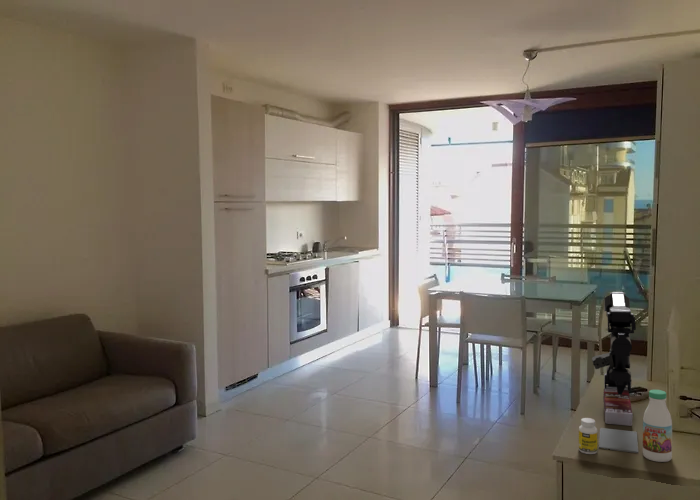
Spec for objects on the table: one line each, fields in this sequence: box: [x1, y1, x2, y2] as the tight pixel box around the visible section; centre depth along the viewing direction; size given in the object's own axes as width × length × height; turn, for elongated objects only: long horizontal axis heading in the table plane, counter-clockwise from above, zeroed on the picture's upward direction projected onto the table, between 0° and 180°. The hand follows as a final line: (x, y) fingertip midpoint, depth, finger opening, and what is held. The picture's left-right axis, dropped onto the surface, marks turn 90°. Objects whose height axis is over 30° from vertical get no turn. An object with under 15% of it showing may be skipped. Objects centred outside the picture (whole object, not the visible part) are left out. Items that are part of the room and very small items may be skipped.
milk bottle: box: [642, 389, 673, 463], centre depth 177 cm, size 8×8×20 cm
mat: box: [598, 427, 639, 454], centre depth 190 cm, size 16×11×1 cm
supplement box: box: [602, 388, 634, 427], centre depth 209 cm, size 9×5×16 cm
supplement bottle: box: [578, 417, 599, 455], centre depth 183 cm, size 5×5×10 cm
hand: (619, 394), depth 197 cm, fingers closed
